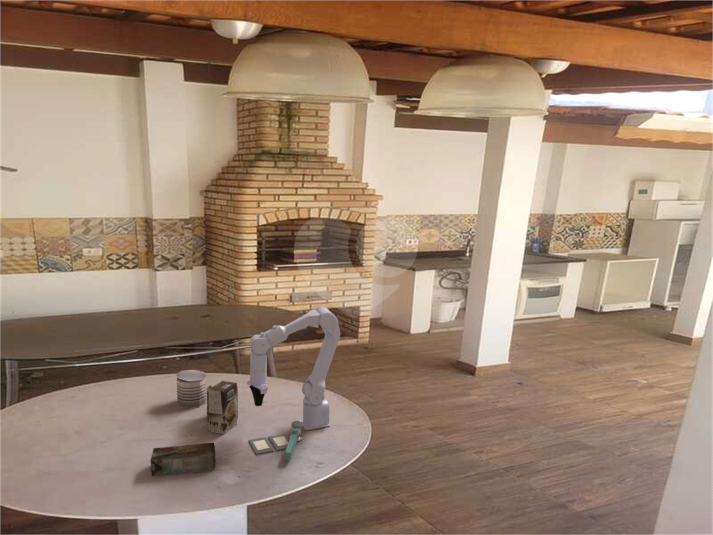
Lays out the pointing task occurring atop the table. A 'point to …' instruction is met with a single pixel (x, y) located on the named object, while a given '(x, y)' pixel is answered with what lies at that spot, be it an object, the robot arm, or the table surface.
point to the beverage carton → (183, 459)
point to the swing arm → (292, 439)
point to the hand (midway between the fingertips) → (258, 405)
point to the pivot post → (299, 435)
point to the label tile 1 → (261, 445)
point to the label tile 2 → (279, 441)
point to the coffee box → (222, 407)
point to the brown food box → (208, 402)
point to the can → (191, 388)
